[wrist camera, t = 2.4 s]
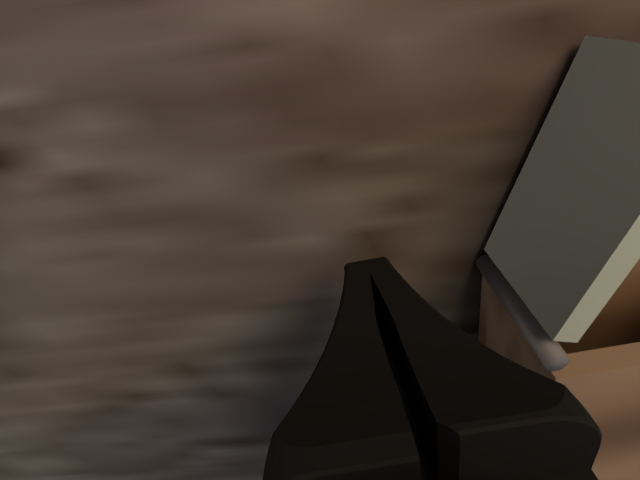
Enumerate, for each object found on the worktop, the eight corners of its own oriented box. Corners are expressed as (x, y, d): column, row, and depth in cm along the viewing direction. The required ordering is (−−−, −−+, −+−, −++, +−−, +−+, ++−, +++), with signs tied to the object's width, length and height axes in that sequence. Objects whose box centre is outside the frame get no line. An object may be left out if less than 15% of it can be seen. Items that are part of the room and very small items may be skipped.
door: (604, 39, 12) (793, 67, 7) (489, 269, 16) (563, 372, 12) (580, 34, 12) (758, 59, 7) (471, 267, 16) (539, 370, 12)
